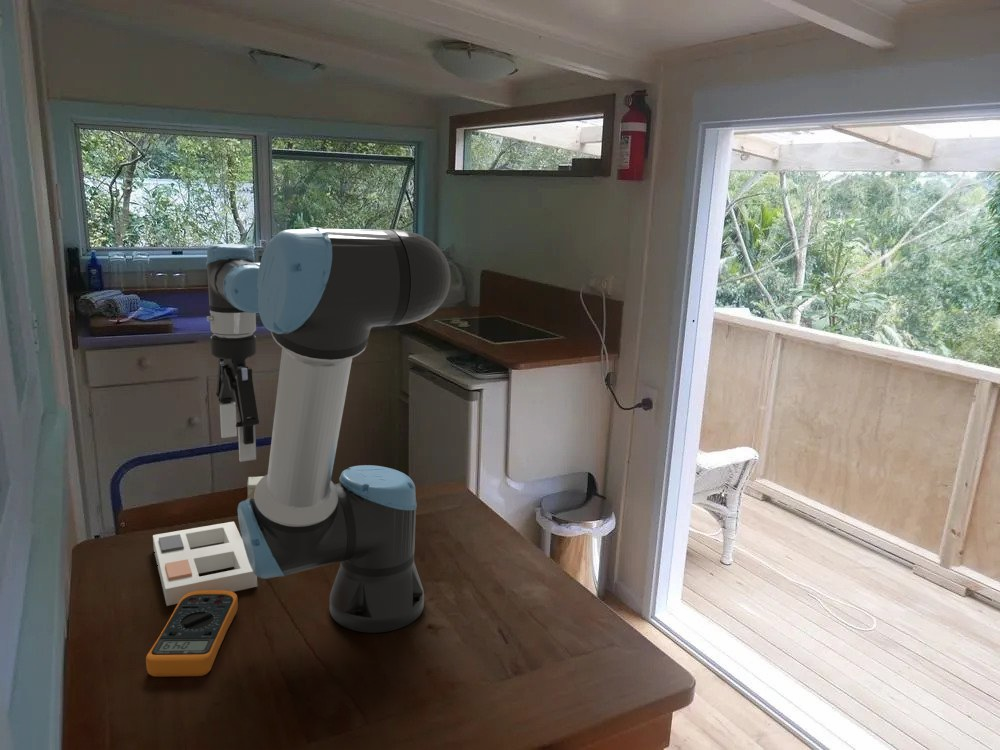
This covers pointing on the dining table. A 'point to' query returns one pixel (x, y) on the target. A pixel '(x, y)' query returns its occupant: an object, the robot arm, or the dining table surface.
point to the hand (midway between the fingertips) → (238, 448)
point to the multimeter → (193, 634)
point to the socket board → (202, 561)
